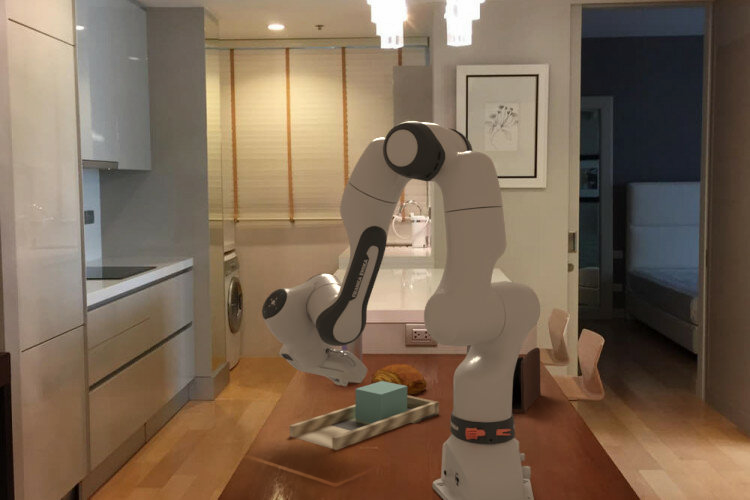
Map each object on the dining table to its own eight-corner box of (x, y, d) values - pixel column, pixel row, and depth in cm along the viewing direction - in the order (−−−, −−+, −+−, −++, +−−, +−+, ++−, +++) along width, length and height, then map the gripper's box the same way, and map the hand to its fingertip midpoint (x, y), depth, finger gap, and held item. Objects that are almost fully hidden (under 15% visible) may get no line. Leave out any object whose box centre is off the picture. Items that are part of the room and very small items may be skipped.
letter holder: (540, 395, 223) (541, 344, 222) (523, 414, 205) (524, 359, 204) (504, 391, 227) (505, 341, 226) (485, 410, 209) (485, 355, 208)
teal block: (381, 425, 194) (381, 394, 193) (355, 419, 199) (355, 388, 198) (407, 416, 201) (407, 386, 200) (381, 410, 206) (381, 381, 206)
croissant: (363, 396, 230) (359, 369, 229) (406, 380, 239) (402, 354, 238) (395, 406, 219) (391, 377, 218) (439, 389, 228) (435, 361, 227)
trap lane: (336, 452, 177) (336, 438, 176) (289, 438, 186) (289, 425, 185) (438, 414, 205) (438, 401, 205) (393, 403, 214) (393, 392, 214)
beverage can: (338, 381, 237) (337, 330, 236) (348, 377, 243) (348, 327, 241) (356, 384, 235) (355, 332, 233) (366, 379, 240) (365, 328, 239)
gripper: (354, 341, 174) (384, 378, 182) (287, 330, 187) (318, 365, 195) (340, 365, 171) (371, 402, 179) (273, 353, 184) (304, 387, 192)
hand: (342, 382), depth 187 cm, fingers closed
